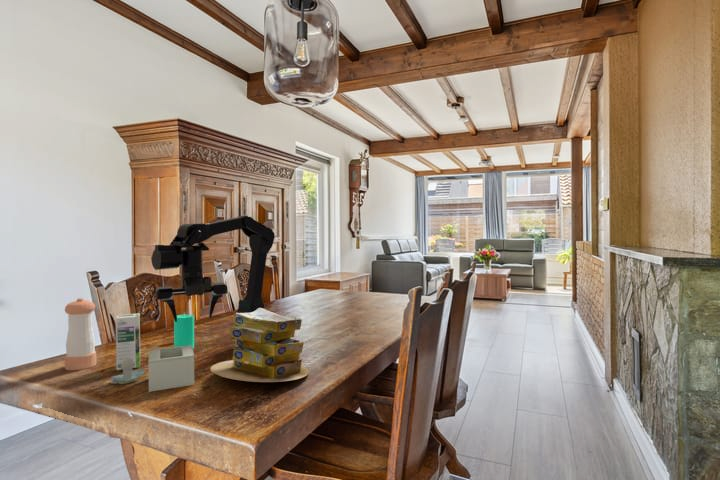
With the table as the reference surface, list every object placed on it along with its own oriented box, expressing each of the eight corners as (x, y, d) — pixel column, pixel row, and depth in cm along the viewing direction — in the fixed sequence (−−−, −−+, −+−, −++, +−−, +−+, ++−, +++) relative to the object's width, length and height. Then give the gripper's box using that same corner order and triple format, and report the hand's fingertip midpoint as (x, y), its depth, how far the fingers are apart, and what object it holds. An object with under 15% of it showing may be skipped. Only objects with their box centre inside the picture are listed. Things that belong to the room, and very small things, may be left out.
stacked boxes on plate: (270, 355, 122) (270, 301, 122) (327, 374, 106) (327, 312, 106) (192, 378, 103) (192, 314, 103) (248, 405, 87) (247, 329, 87)
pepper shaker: (68, 363, 114) (68, 297, 114) (98, 360, 117) (98, 295, 117) (61, 372, 107) (60, 301, 107) (93, 368, 110) (92, 299, 110)
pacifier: (104, 384, 100) (116, 388, 96) (104, 359, 100) (115, 362, 96) (134, 375, 106) (146, 379, 102) (134, 351, 106) (146, 355, 102)
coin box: (191, 371, 108) (191, 345, 107) (194, 384, 99) (194, 355, 99) (149, 377, 103) (149, 350, 103) (148, 391, 94) (148, 361, 94)
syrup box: (115, 371, 108) (115, 317, 108) (117, 364, 114) (117, 313, 113) (139, 367, 111) (139, 315, 111) (140, 361, 116) (139, 312, 116)
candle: (186, 351, 126) (186, 313, 126) (170, 350, 127) (169, 312, 127) (198, 346, 132) (197, 310, 132) (181, 345, 133) (181, 309, 133)
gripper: (156, 271, 105) (158, 330, 105) (230, 267, 113) (231, 321, 114) (155, 267, 114) (157, 321, 115) (223, 264, 123) (224, 314, 124)
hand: (193, 319), depth 117 cm, fingers open, 9 cm apart
